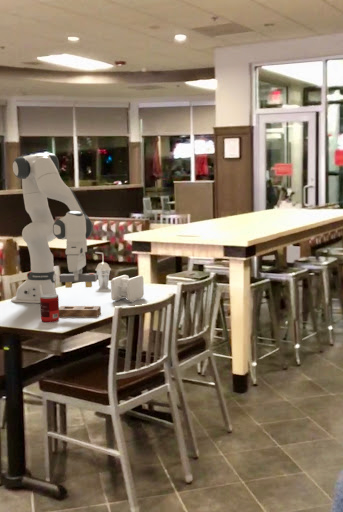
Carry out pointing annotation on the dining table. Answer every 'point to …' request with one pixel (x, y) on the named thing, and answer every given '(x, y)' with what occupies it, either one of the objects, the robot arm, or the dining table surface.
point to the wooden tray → (80, 311)
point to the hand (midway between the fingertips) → (78, 279)
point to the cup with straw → (103, 272)
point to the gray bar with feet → (82, 278)
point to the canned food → (49, 307)
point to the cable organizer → (127, 288)
